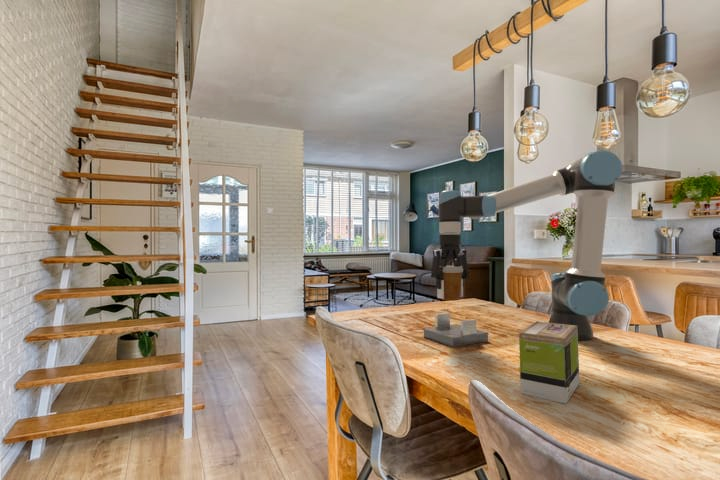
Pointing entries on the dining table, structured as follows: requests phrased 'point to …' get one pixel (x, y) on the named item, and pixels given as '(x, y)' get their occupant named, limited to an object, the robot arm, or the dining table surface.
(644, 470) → the dining table surface
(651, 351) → the dining table surface
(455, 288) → the disposable coffee cup
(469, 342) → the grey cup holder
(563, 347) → the tea box
